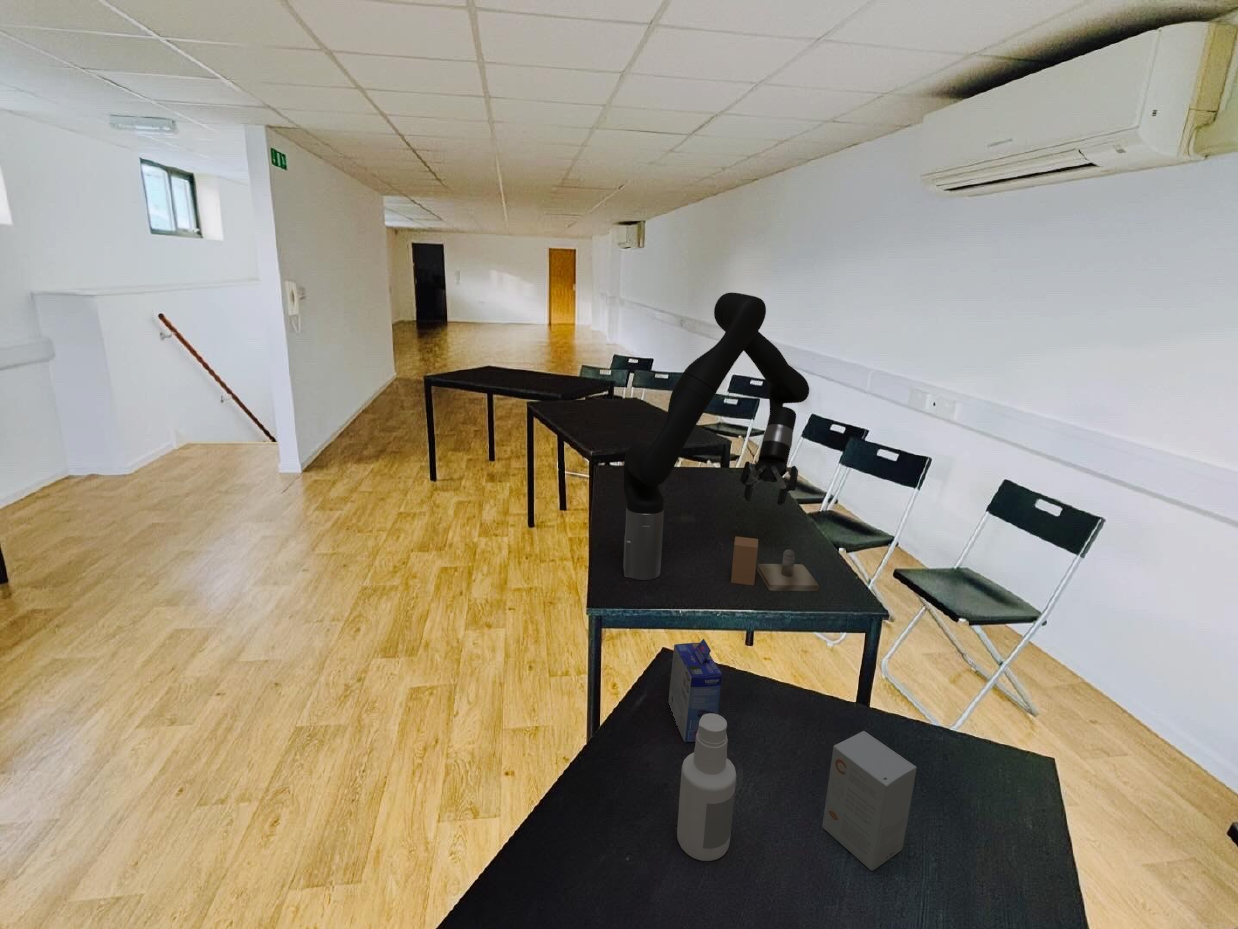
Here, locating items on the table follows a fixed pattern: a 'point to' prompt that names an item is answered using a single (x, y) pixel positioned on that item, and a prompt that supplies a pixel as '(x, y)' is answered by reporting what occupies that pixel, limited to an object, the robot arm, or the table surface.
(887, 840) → the small box
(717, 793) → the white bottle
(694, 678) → the ink cartridge box
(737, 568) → the tall brown carton
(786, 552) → the post stand
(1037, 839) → the table surface
